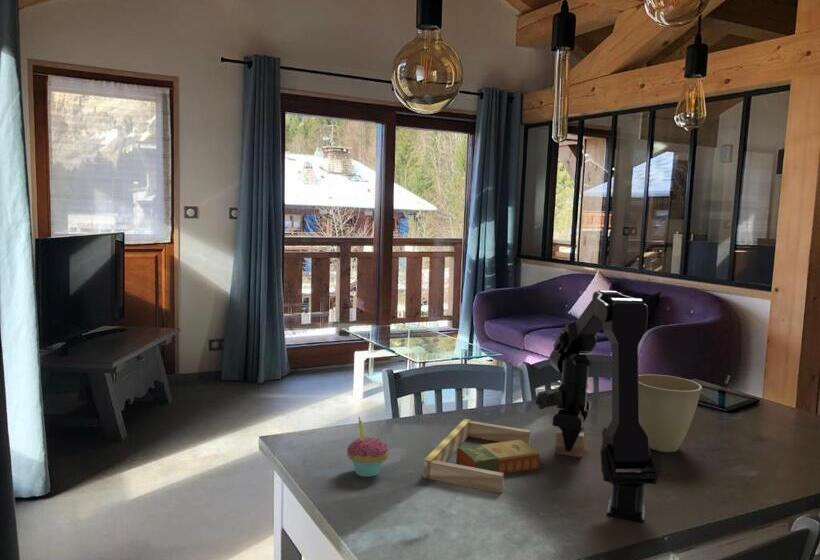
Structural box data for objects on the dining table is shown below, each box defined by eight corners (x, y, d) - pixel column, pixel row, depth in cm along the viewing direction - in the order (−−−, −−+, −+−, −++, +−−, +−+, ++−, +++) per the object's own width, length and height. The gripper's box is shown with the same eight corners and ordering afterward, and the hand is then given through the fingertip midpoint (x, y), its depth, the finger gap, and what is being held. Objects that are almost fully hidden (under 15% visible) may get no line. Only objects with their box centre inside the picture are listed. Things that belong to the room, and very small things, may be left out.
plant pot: (698, 462, 148) (704, 394, 147) (629, 452, 153) (634, 386, 151) (693, 441, 162) (698, 378, 161) (629, 432, 167) (634, 371, 165)
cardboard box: (581, 457, 149) (583, 436, 149) (555, 453, 151) (556, 432, 150) (584, 448, 155) (585, 428, 154) (558, 444, 157) (559, 424, 156)
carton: (539, 470, 142) (540, 451, 141) (473, 480, 135) (474, 460, 135) (518, 456, 149) (519, 438, 149) (455, 464, 143) (456, 445, 142)
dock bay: (500, 493, 129) (502, 474, 128) (423, 477, 135) (423, 459, 134) (529, 444, 156) (530, 429, 155) (463, 433, 162) (464, 418, 161)
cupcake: (350, 482, 131) (352, 424, 130) (343, 465, 139) (344, 410, 138) (392, 478, 134) (394, 421, 132) (382, 462, 142) (384, 408, 140)
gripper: (546, 367, 162) (542, 428, 164) (531, 386, 145) (527, 454, 147) (592, 373, 159) (588, 435, 160) (583, 393, 141) (578, 462, 143)
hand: (570, 446), depth 153 cm, fingers closed on cardboard box, 6 cm apart
